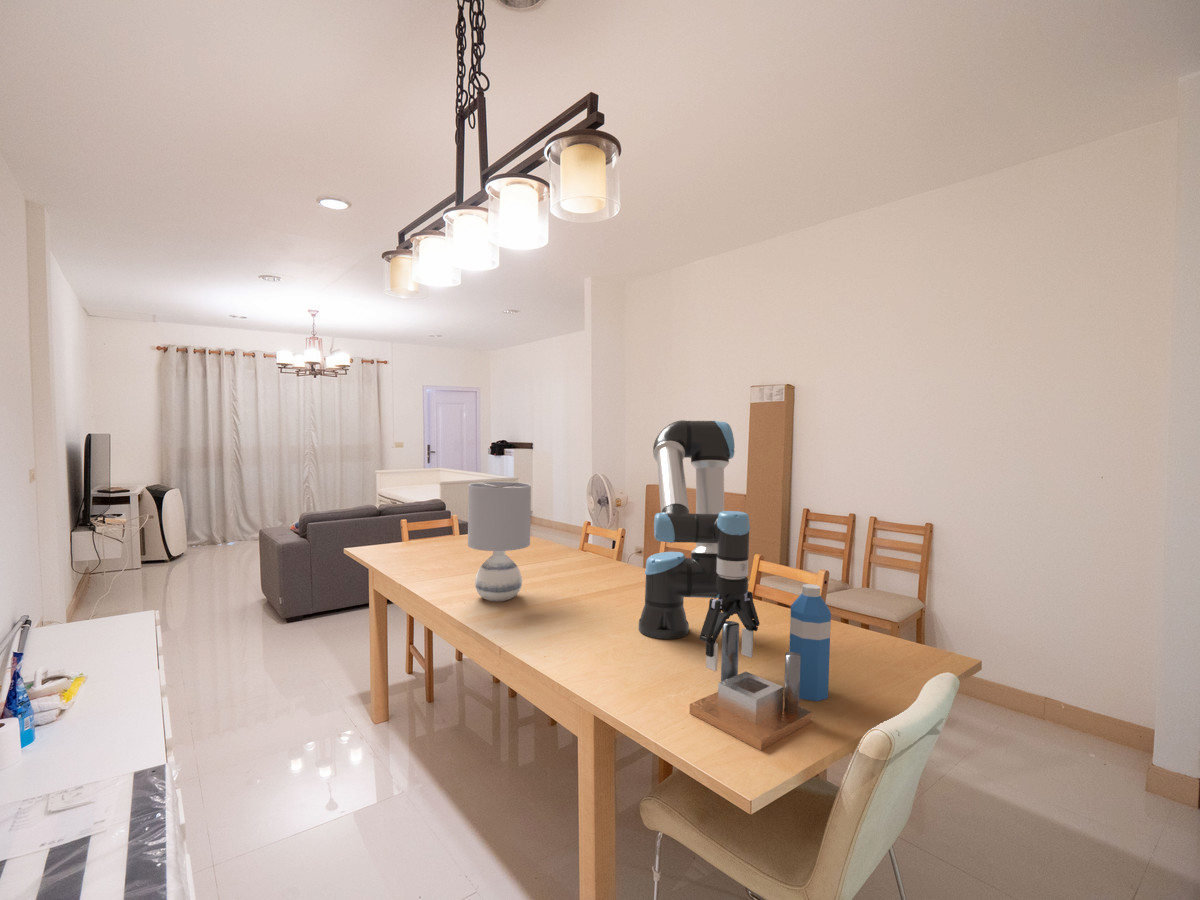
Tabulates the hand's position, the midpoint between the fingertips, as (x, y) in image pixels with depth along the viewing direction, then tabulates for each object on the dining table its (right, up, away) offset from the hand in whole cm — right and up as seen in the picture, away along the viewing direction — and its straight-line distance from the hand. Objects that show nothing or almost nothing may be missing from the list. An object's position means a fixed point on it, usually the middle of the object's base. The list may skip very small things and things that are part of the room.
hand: (729, 662), depth 139 cm
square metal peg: (0, -5, 0) cm, 5 cm away
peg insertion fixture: (0, -5, -17) cm, 18 cm away
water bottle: (+17, -5, -5) cm, 19 cm away
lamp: (-68, -1, +64) cm, 93 cm away
